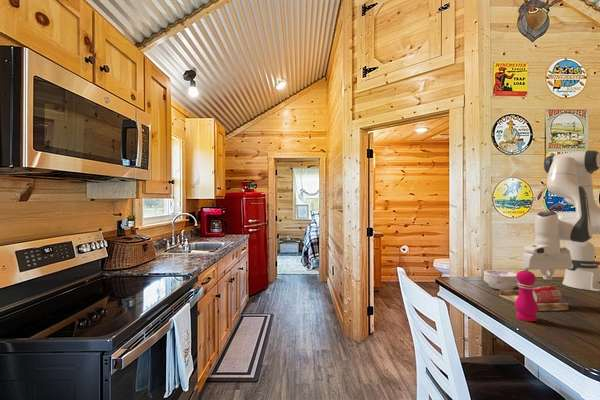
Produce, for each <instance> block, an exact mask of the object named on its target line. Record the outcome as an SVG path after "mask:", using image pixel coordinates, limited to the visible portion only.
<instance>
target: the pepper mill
mask: <svg viewBox="0 0 600 400" xmlns="http://www.w3.org/2000/svg"><path fill="white" fill-rule="evenodd" d="M516 274H517V275H516V278H517V280H518V281H519V283H518V286H517V287H518V290H519V296H518V298H517V299H516V302H514V309H515V310H516V311H517V312H516V315H515V317H516V319H518V320H520V319H521V320H520V321H523V320H524V321H523V322H527V321H531V322H530V323H533V322H532V321H536V322H537V315H536V314H537V313H538V312H539V311H538V306H537V303H536V301H535V299H534V296H533V289H534V287H535V284H534V283H536V282H537V277H536V275H535V273H534V272H531V271H530V270H529V269H528V267H523V268H522V270H520V271H518V272H517V273H516Z"/></svg>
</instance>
